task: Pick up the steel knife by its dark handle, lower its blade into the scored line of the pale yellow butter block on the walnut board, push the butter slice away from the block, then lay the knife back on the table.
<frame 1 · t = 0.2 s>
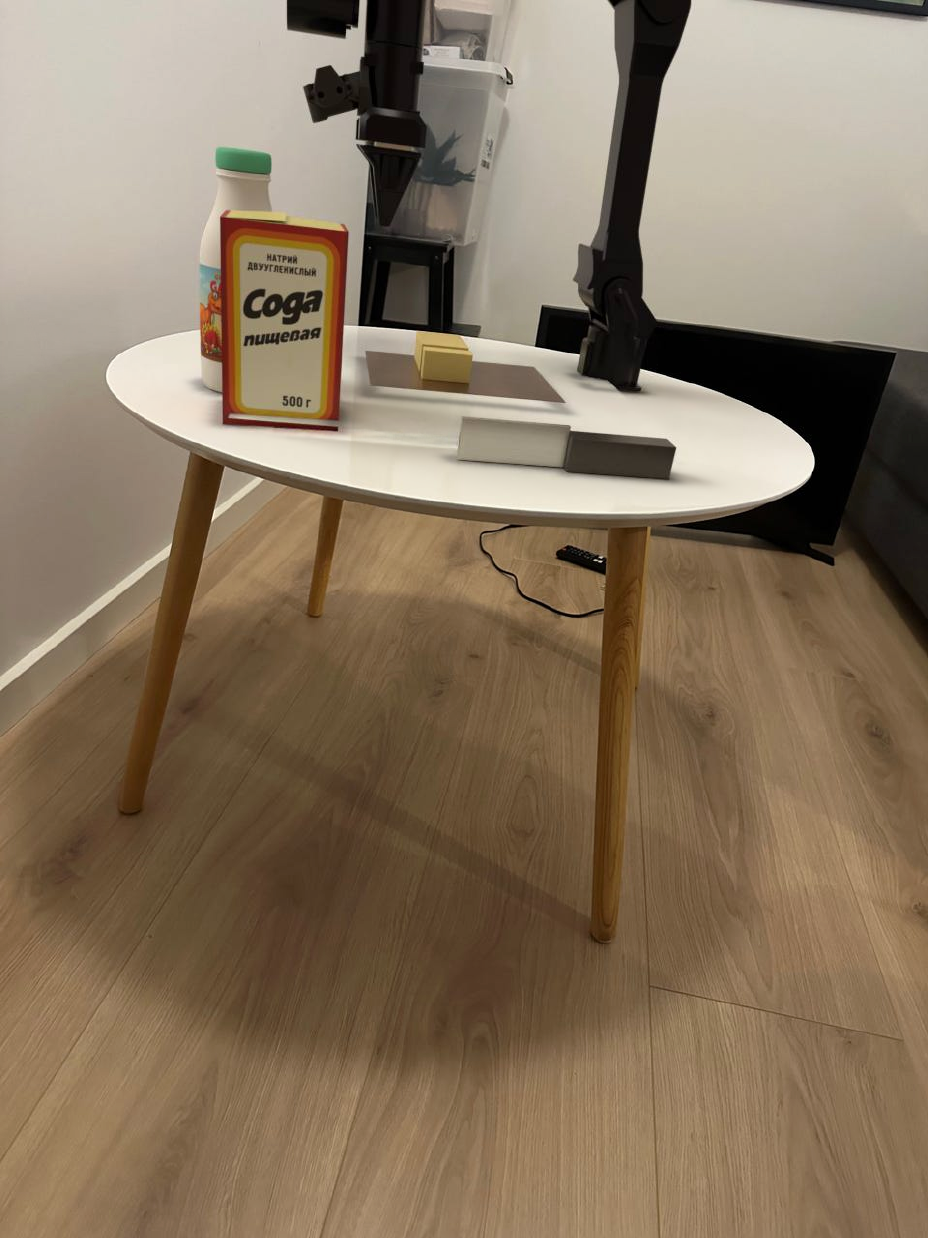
hand: (382, 222, 90), 15 cm above the table, tool pointing down, fingers open, 9 cm apart
butter: (438, 366, 95), point 1 cm above the table, touching board
board: (459, 384, 93), on the table
knife: (614, 470, 72), on the table
milk bottle: (243, 388, 82), on the table
butter slice: (444, 379, 90), point 1 cm above the table, touching board
baking soda box: (281, 418, 74), on the table
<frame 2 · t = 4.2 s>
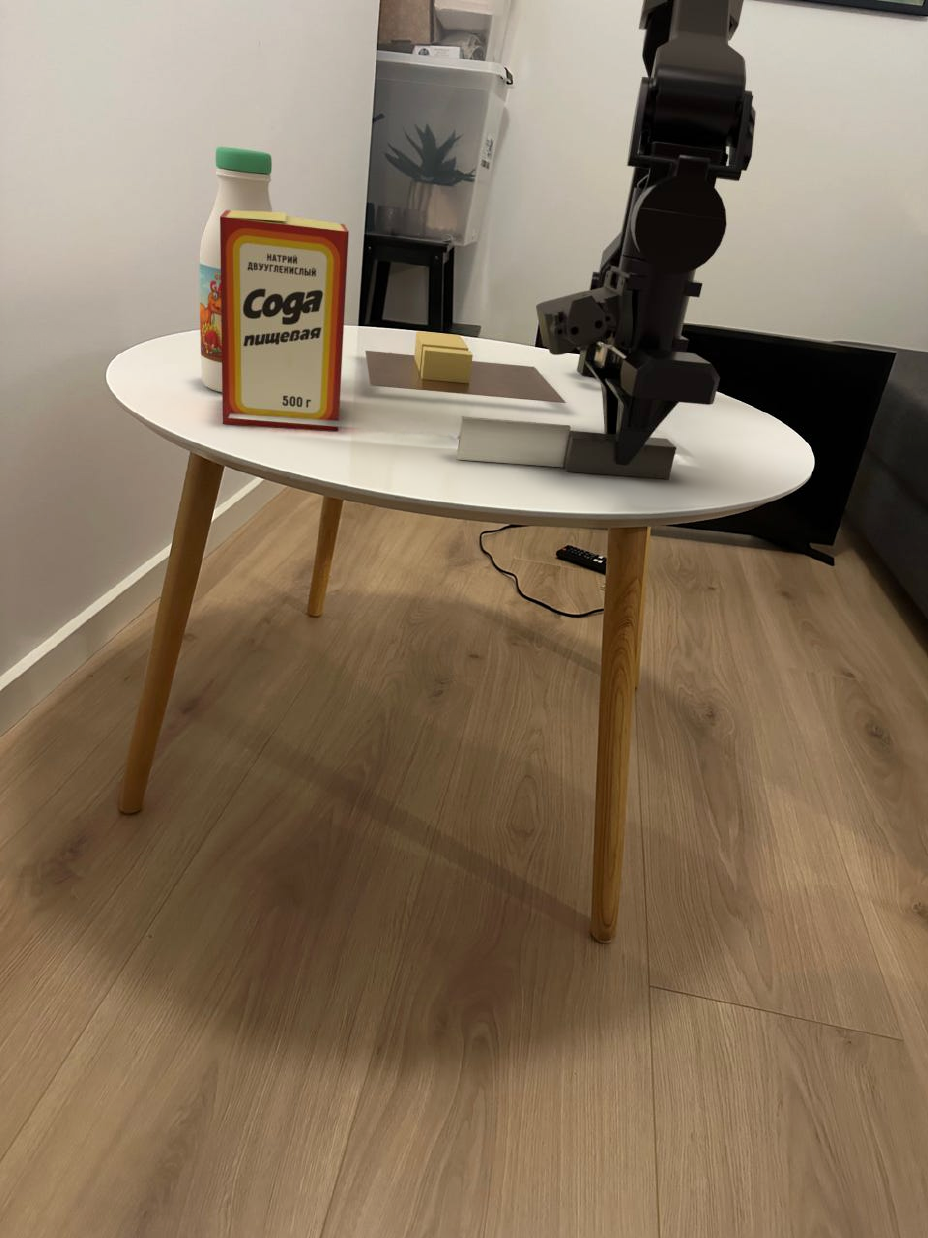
hand: (616, 459, 72), 1 cm above the table, tool pointing down, fingers closed on knife, 2 cm apart
knife: (614, 470, 72), on the table, touching gripper
everything else where it was.
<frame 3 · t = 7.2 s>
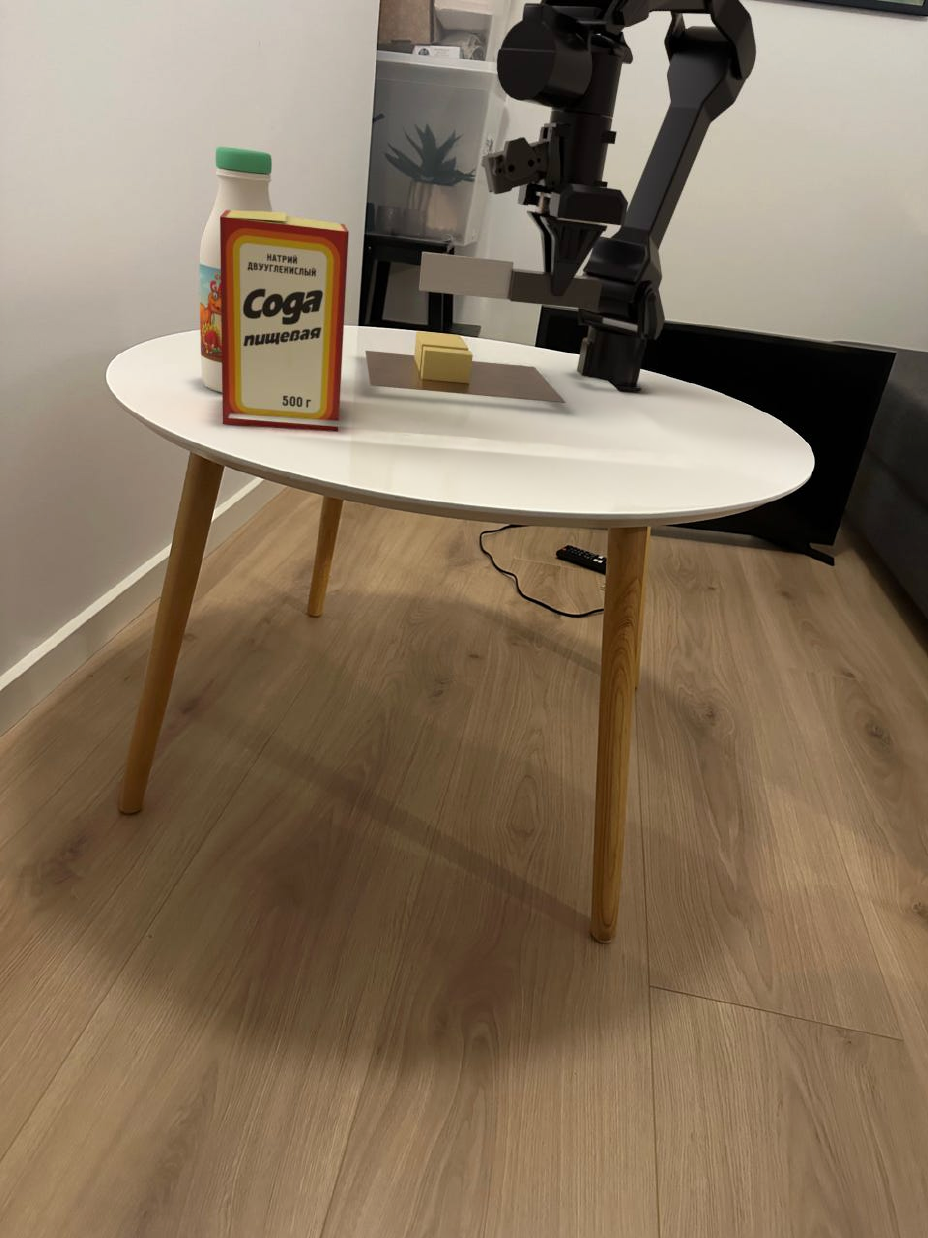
hand: (553, 293, 86), 11 cm above the table, tool pointing down, fingers closed on knife, 2 cm apart
knife: (551, 303, 86), point 10 cm above the table, touching gripper
everything else where it was.
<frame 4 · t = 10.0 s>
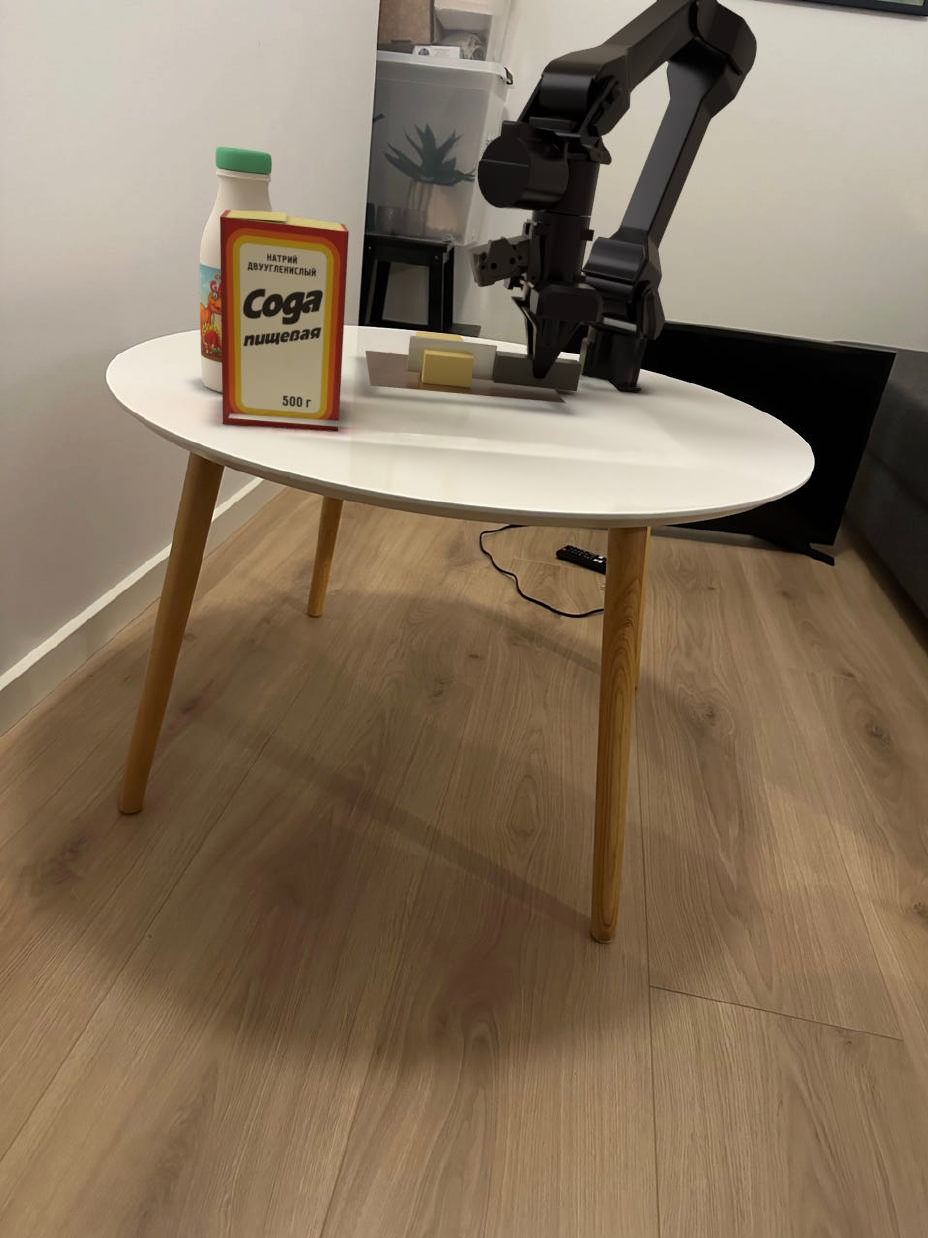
hand: (535, 375, 90), 2 cm above the table, tool pointing down, fingers closed on knife, 2 cm apart
knife: (533, 384, 91), point 2 cm above the table, touching butter slice, gripper
butter slice: (445, 383, 88), point 1 cm above the table, touching board, knife
everything else where it was.
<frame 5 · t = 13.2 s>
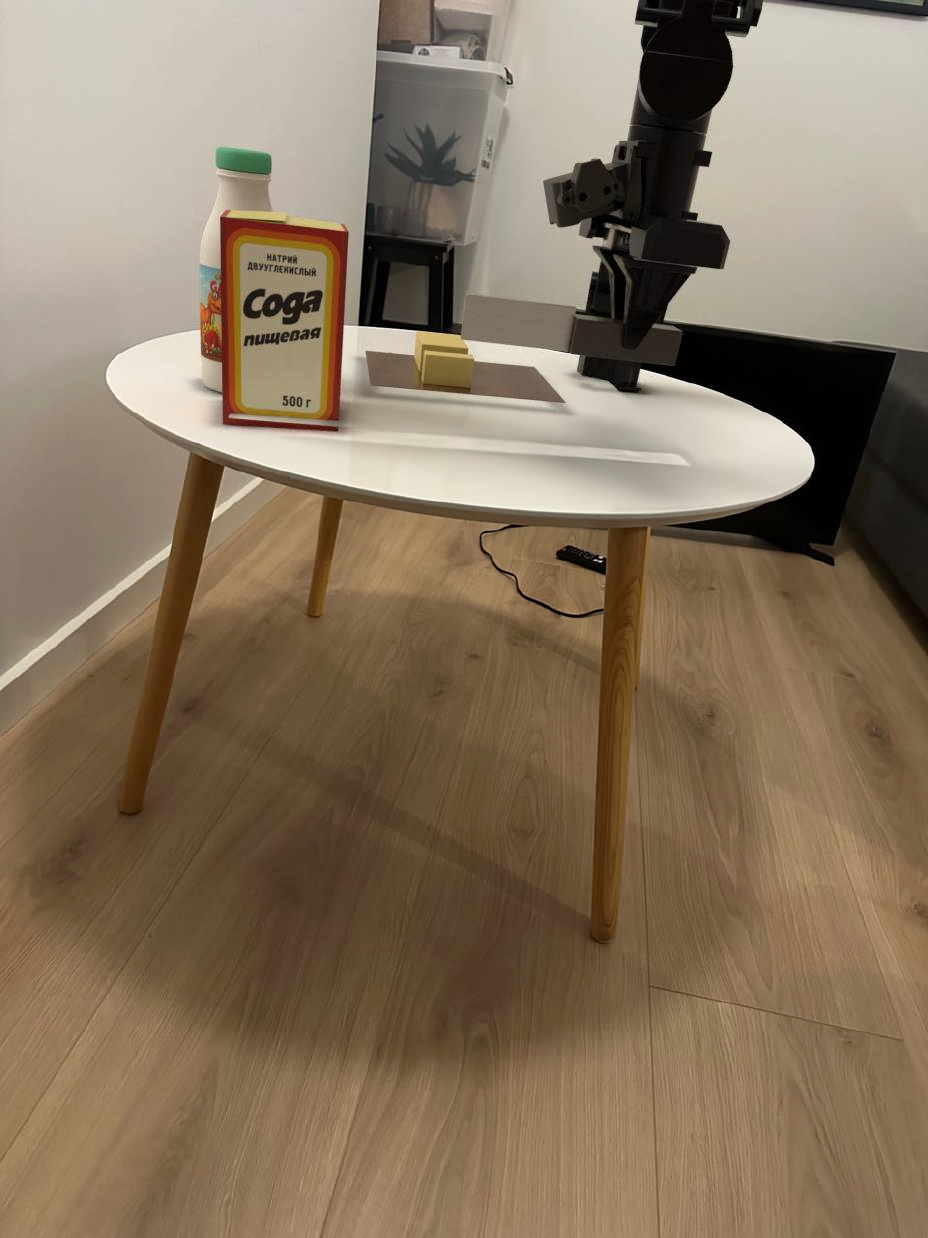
hand: (624, 345, 71), 10 cm above the table, tool pointing down, fingers closed on knife, 2 cm apart
knife: (619, 357, 71), point 9 cm above the table, touching gripper
butter slice: (446, 383, 88), point 1 cm above the table, touching board
everything else where it was.
when the fingers open (1 cm above the table, at t = 15.4 s): knife stays where it is, on the table.
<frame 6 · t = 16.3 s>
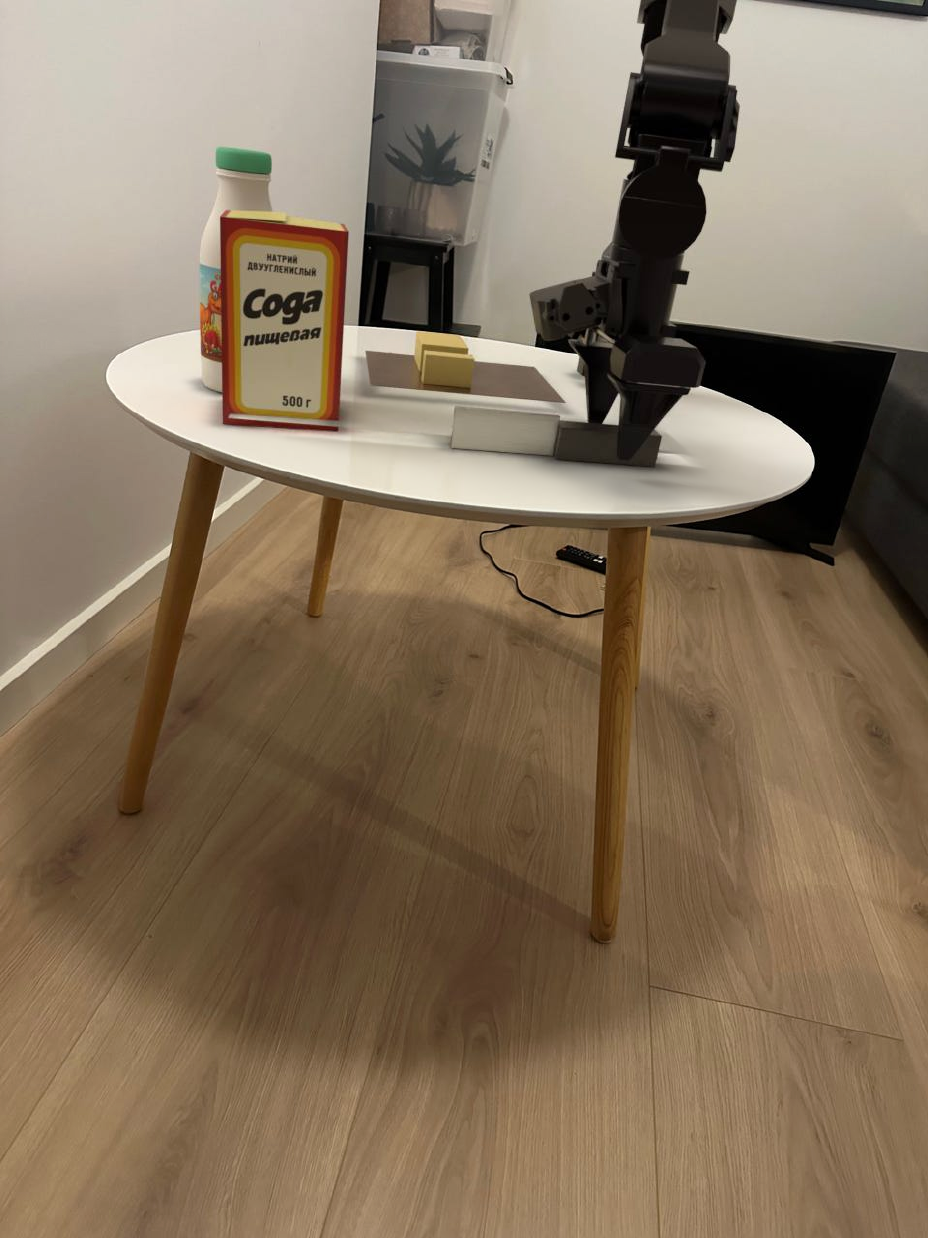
hand: (607, 442, 74), 1 cm above the table, tool pointing down, fingers open, 9 cm apart
knife: (602, 458, 75), on the table
everything else where it was.
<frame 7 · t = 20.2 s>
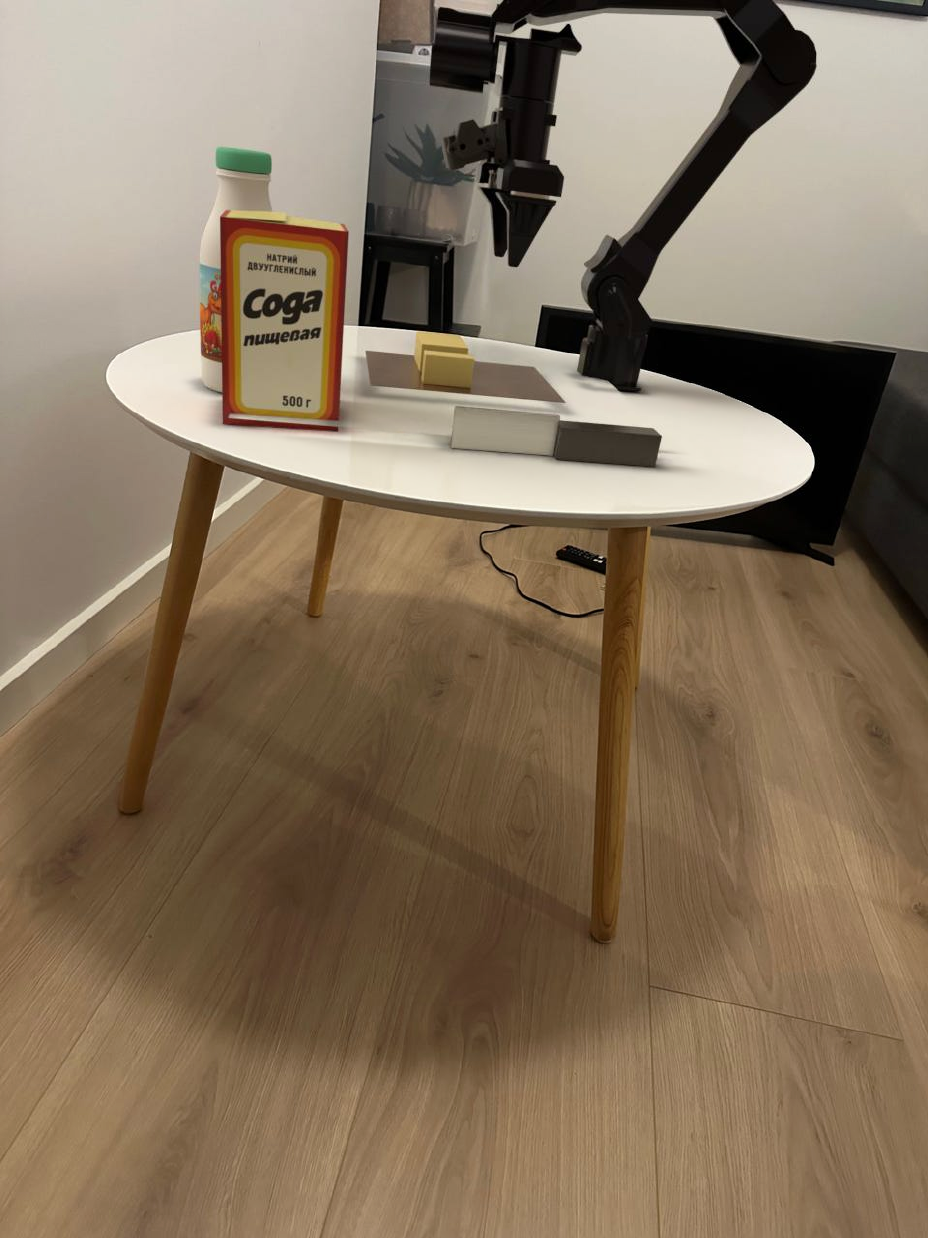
hand: (505, 261, 96), 12 cm above the table, tool pointing down, fingers open, 9 cm apart
nothing on the table moved.
at the end: butter slice 1.0 cm from the target spot on the table beside the butter, resting on board; butter moved 0.0 cm from its start; the gripper is holding nothing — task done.
